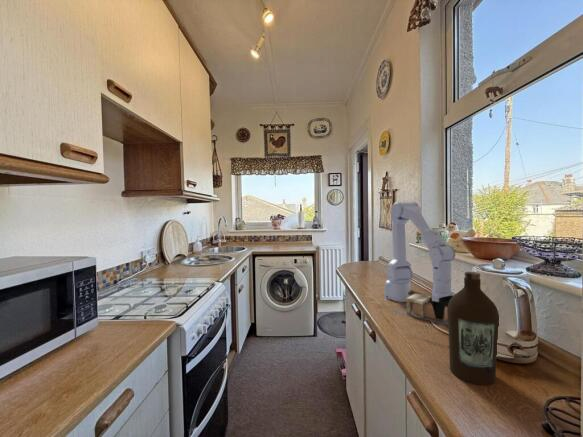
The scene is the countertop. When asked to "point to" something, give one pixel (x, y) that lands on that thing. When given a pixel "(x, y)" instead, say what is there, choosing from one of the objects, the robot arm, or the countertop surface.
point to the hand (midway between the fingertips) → (441, 316)
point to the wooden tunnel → (417, 299)
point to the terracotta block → (428, 311)
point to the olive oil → (473, 333)
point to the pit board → (424, 316)
